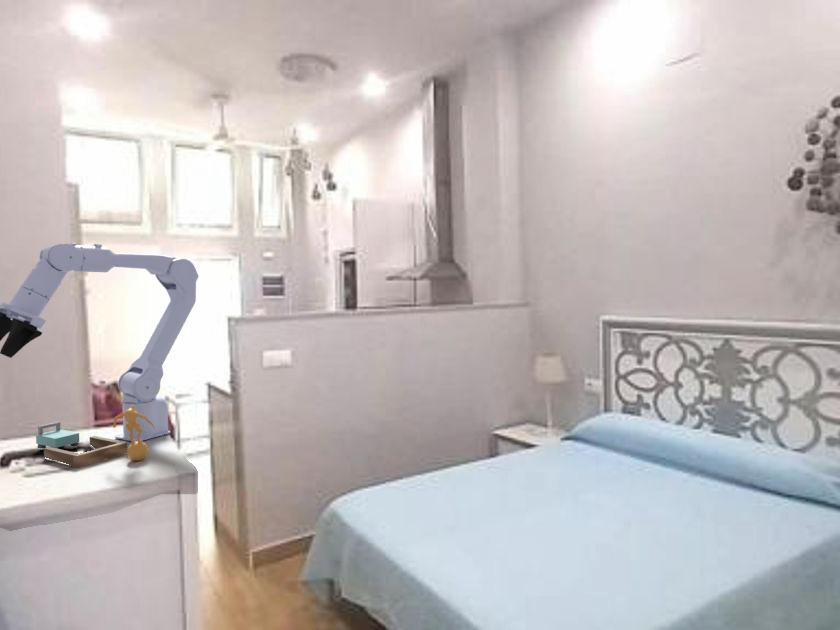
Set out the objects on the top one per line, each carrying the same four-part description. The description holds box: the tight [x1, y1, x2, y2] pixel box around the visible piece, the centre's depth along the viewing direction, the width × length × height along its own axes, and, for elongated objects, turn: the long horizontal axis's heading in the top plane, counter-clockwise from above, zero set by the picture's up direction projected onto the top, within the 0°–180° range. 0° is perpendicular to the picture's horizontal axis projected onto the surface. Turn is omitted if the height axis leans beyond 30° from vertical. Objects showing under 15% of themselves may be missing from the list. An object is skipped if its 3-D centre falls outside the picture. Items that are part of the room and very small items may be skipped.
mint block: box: [35, 421, 80, 449], centre depth 127 cm, size 5×7×5 cm
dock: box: [43, 435, 128, 469], centre depth 122 cm, size 11×11×2 cm
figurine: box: [112, 405, 154, 462], centre depth 118 cm, size 8×6×12 cm
